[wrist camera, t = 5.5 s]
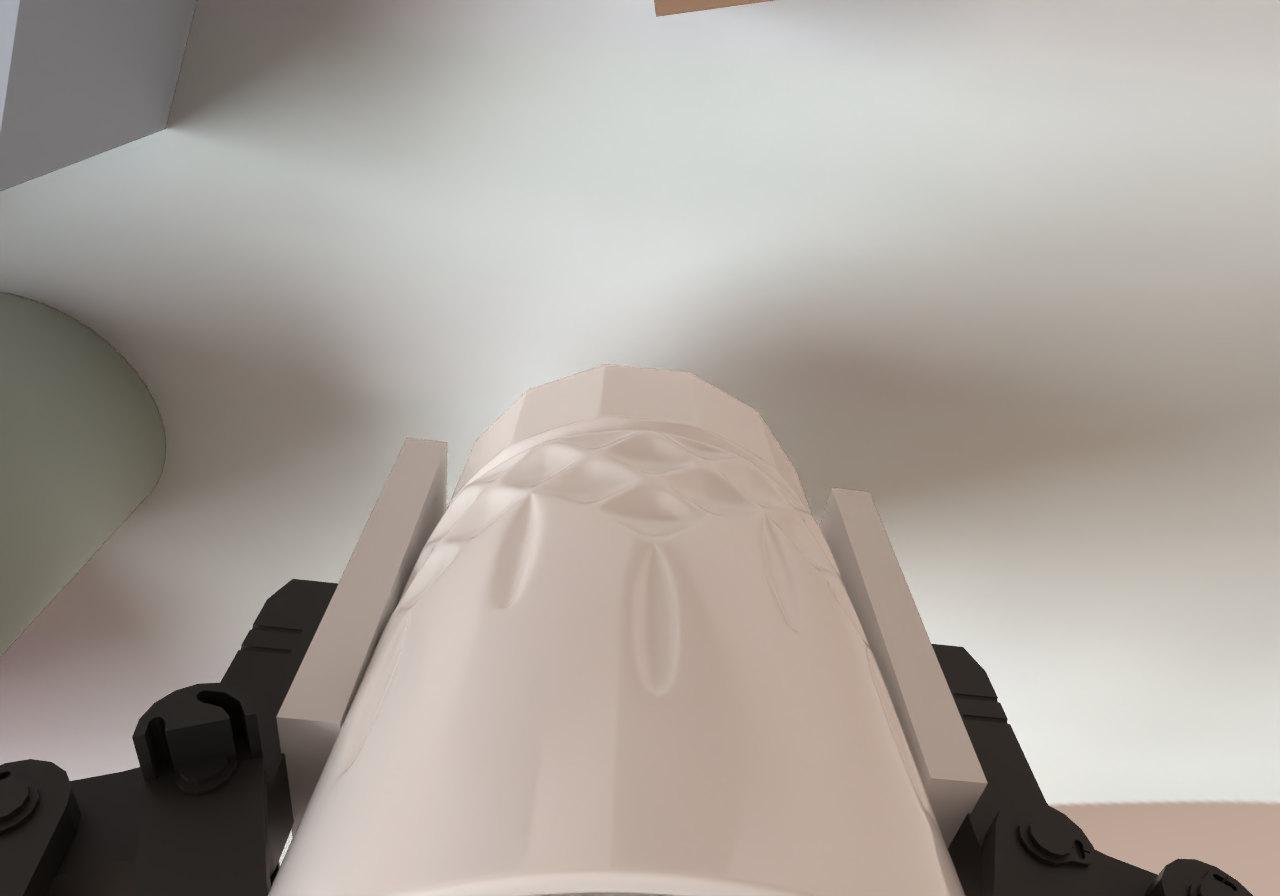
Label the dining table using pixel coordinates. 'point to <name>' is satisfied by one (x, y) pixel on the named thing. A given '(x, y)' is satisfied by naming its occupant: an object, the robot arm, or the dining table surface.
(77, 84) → the slate blue block
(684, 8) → the walnut cube
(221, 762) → the robot arm
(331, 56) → the dining table surface
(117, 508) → the grayish green cylinder
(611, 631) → the white cup
